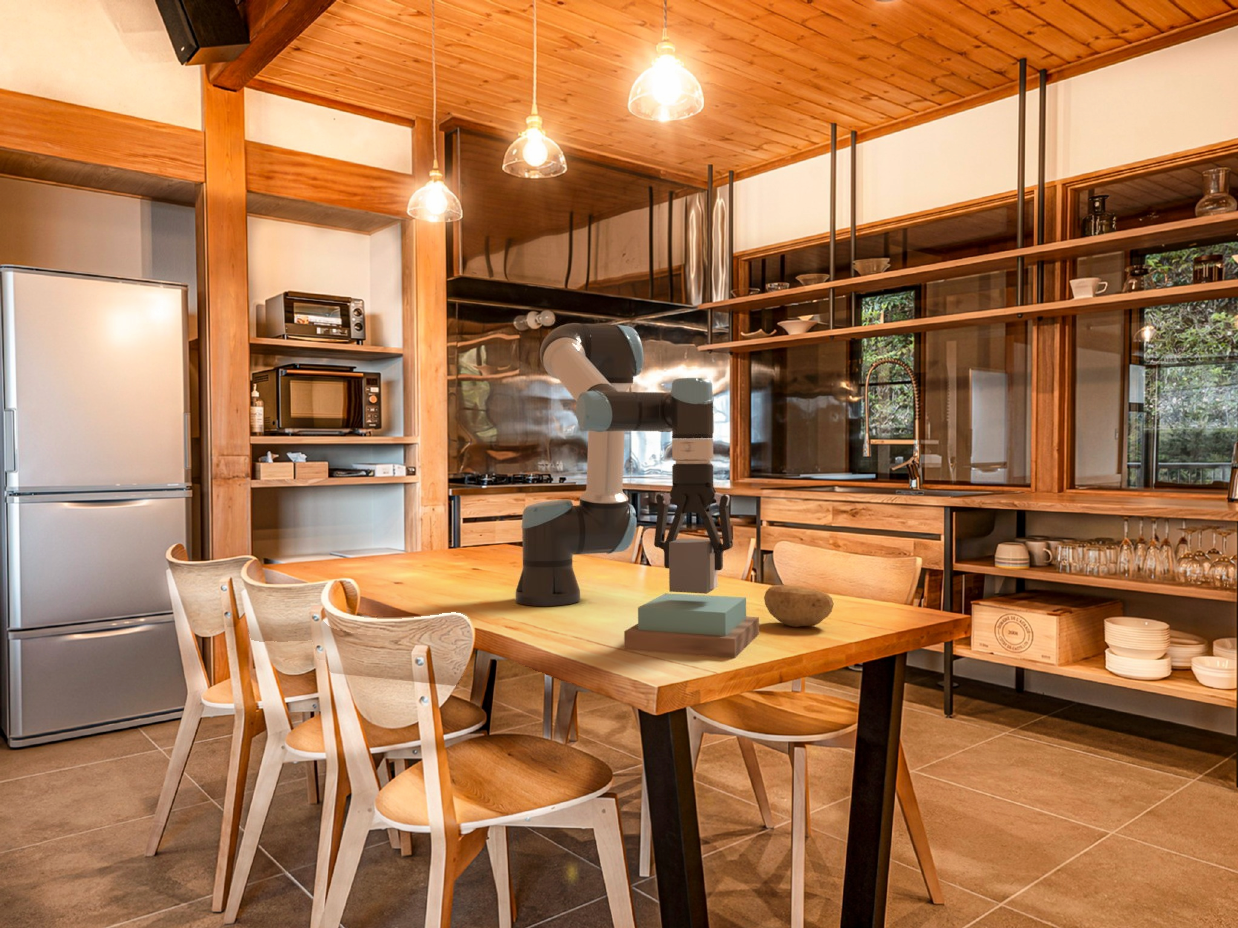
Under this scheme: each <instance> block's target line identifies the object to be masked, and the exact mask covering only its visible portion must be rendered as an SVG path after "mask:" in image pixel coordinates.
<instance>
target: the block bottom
mask: <svg viewBox="0 0 1238 928" xmlns="http://www.w3.org/2000/svg"><path fill="white" fill-rule="evenodd" d="M623 632H624V634H623V636H624V637H623V640H624V650H625V651H626V650H627V651H640V652H653V653H665V654H677V655H690V656H703V657H716V658H726V659H727V658H729V659H736V658H737V657H738V656H740V654H741V653H742V652H743V651H744V650H745V649H746V648H747V647H748V646H749V645H750V644H751V643H752V642H753V641H754V640H755V639H757V637H758V636H759V635H760V617H758V616H747V615H746V619H745V620H744V621H743V622H741V623H740V624H739V625H738V626H737V627H736V628H734V629H733V630H732V631H731V632H730V633H728V634H727V635H726V636H720V635H706V634H691V633H677V632H663V631H648V630H638V623H636V624H634V625H633V626H631V627H629V628H628V629H626V630H624V631H623Z"/></svg>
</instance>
